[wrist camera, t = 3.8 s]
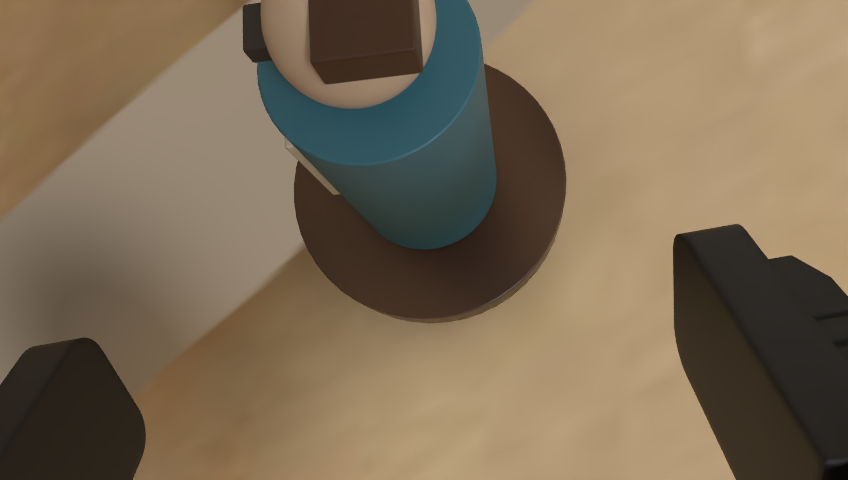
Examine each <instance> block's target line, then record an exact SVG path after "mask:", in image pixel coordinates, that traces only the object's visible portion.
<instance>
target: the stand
mask: <svg viewBox="0 0 848 480" xmlns="http://www.w3.org/2000/svg"><path fill="white" fill-rule="evenodd" d="M484 70H485V79H486V87H487V96H488V104H489V113H490V122H491V130H492V139H493V148H494V156H495V165H496V177H497V183H496V191H495V195H494V199H493V202H492V204H491V207H490V209H489V211H488V212H487V214H486V216H485V217H484V219H483V220H482V221H481V223H480V224H479V225H478V226H477V227H476V228H475V229H474V230H473V231H472V232H471V233H469V234H468V235H467V236H465V237H464V238H462V239H460V240H459V241H457V242H455V243H452V244H450V245H447V246H444V247H441V248H435V249H422V250H421V249H411V248H407V247H403V246H400V245H398V244H395V243H393V242H391V241H389V240H387V239H386V238H384V237H383V236H382V235H380V234H379V233H378V232H377V231H376V230H375V229H374V228H373V227H372V226H371V225H370V224H369V223H368V222H367V221H366V220H365V219H364V218H363V217H362V216H361V215H360V214H359V213H358V212H357V211H356V210H355V209H354V208H353V206H352V205H351V204H350V203H349V202H348V201H347V200H346V199H345V198H344V197H343V196H342V195H341V194H337V195H333V194H332V193H331V192H330V191H329V190H328V189H327V188H326V187H325V186H324V185H323V184H322V183H321V182H320V181H319V180H318V179H317V178H316V177H315V176H314V175H313V174H312V173H311V172H310V171H309V170H308V169H307V168H306V167H305V166H304V165H303V164H302V163H301V162H300V161H299V160H298V163H297V167H296V175H295V182H294V203H295V210H296V217H297V221H298V225H299V229H300V232H301V235H302V237H303V240H304V242H305V244H306V247H307V249H308V251H309V253H310V254H311V256H312V258H313V259H314V261H315V263H316V264H317V266H318V267H319V268H320V269H321V271H322V272H323V273H324V274H325V275H326V277H327V278H328V279H329V280H330V281H331V282H332V283H333V284H335V285H336V286H337V287H338V288H339V289H340V290H341V291H343V292H344V293H345V294H347V295H348V296H350V297H351V298H352V299H354V300H356V301H357V302H359V303H361V304H363V305H365V306H367V307H369V308H371V309H373V310H375V311H377V312H379V313H382V314H385V315H388V316H390V317H393V318H396V319H401V320H406V321H411V322H421V323H442V322H451V321H456V320H461V319H465V318H468V317H472V316H475V315H478V314H481V313H483V312H485V311H487V310H489V309H491V308H493V307H495V306H497V305H499V304H500V303H502V302H503V301H505V300H506V299H508V298H509V297H511V296H512V295H513V294H514V293H516V292H517V291H518V290H519V289H520V288H521V287H523V286H524V285H525V284H526V283H527V282H528V280H529V279H530V278H531V277H532V276H533V275H534V274H535V273H536V271H537V270H538V268H539V267H540V265H541V264H542V263H543V261H544V260H545V258H546V256H547V254H548V252H549V250H550V248H551V246H552V244H553V242H554V240H555V237H556V234H557V231H558V228H559V225H560V221H561V217H562V212H563V207H564V201H565V194H566V172H565V161H564V157H563V153H562V148H561V144H560V142H559V139H558V136H557V134H556V131H555V129H554V127H553V125H552V123H551V121H550V120H549V118H548V116H547V114H546V113H545V111H544V110H543V109H542V107H541V106H540V105H539V103H538V102H537V101H536V99H535V98H534V97H533V96H532V95H531V94H530V93H529V92H528V91H527V90H526V89H525V88H524V87H522V86H521V85H520V84H519V83H517V82H516V81H515V80H513V79H512V78H511V77H509V76H507V75H506V74H504V73H502V72H500V71H499V70H497V69H495V68H493V67H490V66H488V65H486V64H484Z"/></svg>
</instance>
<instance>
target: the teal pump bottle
mask: <svg viewBox="0 0 848 480" xmlns="http://www.w3.org/2000/svg"><path fill="white" fill-rule="evenodd" d="M243 50H244V52H245V53H246V55H247V56H248V57H249V58H250V59H251V60H252V62H255V63H257V62H258V66H257V75H258V85H259V90H260V94H261V98H262V101H263V103H264V106H265V109H266V111H267V113H268V114H269V116H270V118H271V120H272V122H273V123H274V124H275V125H276V127H277V128H278V129H279V131H280V132H281V133H282V134H283V135H284V136H285V147H286V148H287V150H288V151H289V152H290V153H291V154H292V155H294V156H295V157H296V158H297V159H298V160H299V161H300V162H301V163H302V164H303V165H304V166H305V167H306V168H307V169H308V170H309V171H310V172H311V173H312V174H313V175H314V176H315V177H316V178H317V179H318V180H319V181H320V182H321V183H322V184H323V185H324V186H325V187H326V188H327V189H328V190H329V191H330V192H331V193H332V194H333V195H337V194H341V195H342V196H343V197H344V198H345V199H346V200H347V201H348V202H349V203H350V204H351V205H352V206H353V208H354V209H355V210H356V211H357V212H358V213H359V214H360V215H361V216H362V217H363V218H364V219H365V220H366V221H367V222H368V223H369V224H370V225H371V226H372V227H373V228H374V229H375V230H376V231H377V232H378V233H379V234H380V235H382V236H383V237H384V238H386V239H387V240H389V241H391V242H393V243H395V244H398V245H400V246H403V247H407V248H411V249H421V250H422V249H435V248H441V247H444V246H447V245H450V244H452V243H455V242H457V241H459V240H460V239H462V238H464V237H465V236H467V235H468V234H469V233H471V232H472V231H473V230H474V229H475V228H476V227H477V226H478V225H479V224H480V223H481V221H482V220H483V219H484V217H485V216H486V214H487V212H488V211H489V209H490V207H491V204H492V202H493V199H494V195H495V191H496V183H497V177H496V165H495V156H494V148H493V139H492V130H491V122H490V113H489V104H488V96H487V87H486V79H485V70H484V61H483V53H482V44H481V37H480V32H479V27H478V24H477V21H476V17H475V15H474V13H473V11H472V8H471V6H470V4H469V3H468V1H467V0H262V1H261V3H255V4H248V5H244V6H243Z"/></svg>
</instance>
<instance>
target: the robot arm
mask: <svg viewBox="0 0 848 480" xmlns="http://www.w3.org/2000/svg"><path fill="white" fill-rule="evenodd" d="M673 275H674V329H675V337H676V343H677V348H678V352H679V356H680V359H681V362H682V365H683V368H684V371H685V373H686V375H687V377H688V379H689V381H690V384H691V386H692V388H693V390H694V392H695V394H696V396H697V398H698V400H699V403H700V405H701V407H702V409H703V411H704V413H705V415H706V417H707V420H708V422H709V424H710V426H711V428H712V430H713V432H714V434H715V436H716V439H717V441H718V443H719V445H720V447H721V449H722V451H723V453H724V455H725V458H726V460H727V462H728V464H729V466H730V468H731V470H732V472H733V474H734V477H735V479H736V480H848V296H847V295H846V294H845V293H844V292H843V291H842V289H841V288H840V287H839V286H838V285H837V284H836V283H835V281H834V280H833V279H832V278H831V277H829V276H828V275H826V274H824V273H822V272H820V271H819V270H817V269H815V268H813V267H811V266H810V265H808V264H806V263H804V262H802V261H801V260H799V259H797V258H795V257H793V256H792V255H791V256H785V257H779V258H773V259H768V258H767V257H766V256H765V255H764V253H763V252H762V251H761V249H760V248H759V247H758V245H757V244H756V243H755V242H754V240H753V239H752V238H751V236H750V235H749V234H748V232H747V231H746V230H745V229H744V228H743V227H742V226H741V225H739V224H733V225H728V226H722V227H716V228H711V229H705V230H699V231H694V232H688V233H682V234H677V235H676V237H675V239H674V245H673ZM145 441H146V432H145V424H144V420H143V417H142V414H141V412H140V410H139V408H138V407H137V405H136V403H135V402H134V400H133V399H132V397H131V395H130V394H129V392H128V391H127V389H126V387H125V386H124V384H123V383H122V381H121V379H120V378H119V376H118V375H117V373H116V371H115V370H114V368H113V367H112V365H111V363H110V362H109V360H108V359H107V357H106V355H105V354H104V352H103V351H102V349H101V348H100V346H99V345H98V344H97V343H96V342H95V341H93V340H92V339H89V338H80V339H74V340H68V341H62V342H56V343H51V344H45V345H40V346H34V347H31V348H29V349H28V350H26V351H25V352H24V353H23V354H22V355H21V357H20V358H19V360H18V361H17V363H16V364H15V365H14V367H13V368H12V369H11V371H10V372H9V374H8V375H7V377H6V378H5V379H4V381H3V382H2V383H1V385H0V480H133V477H134V475H135V473H136V470H137V468H138V465H139V463H140V461H141V458H142V456H143V453H144V448H145Z"/></svg>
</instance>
